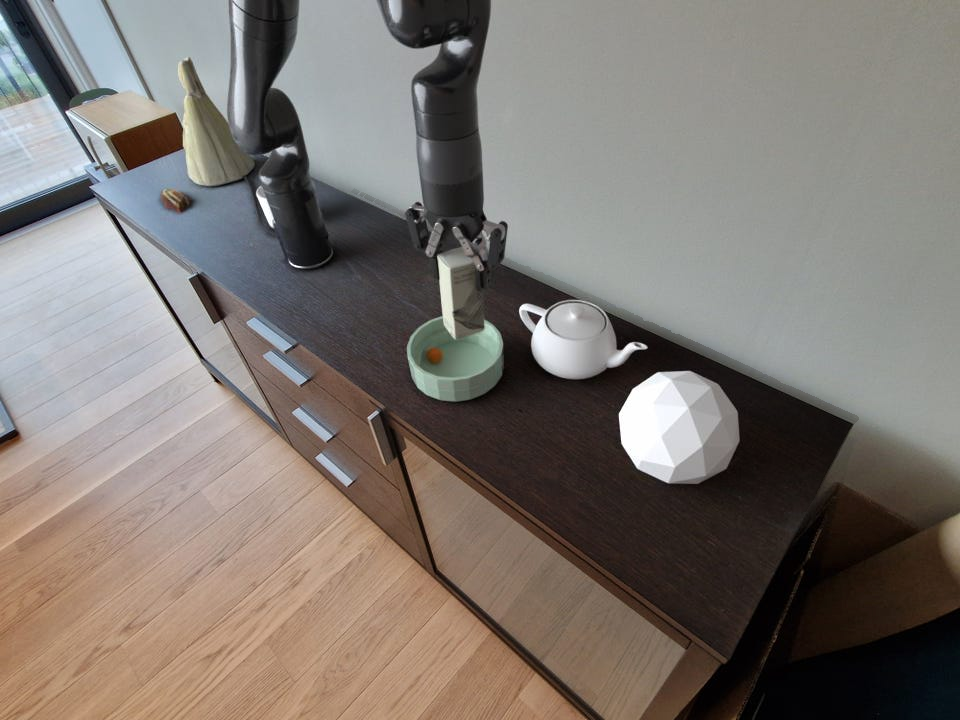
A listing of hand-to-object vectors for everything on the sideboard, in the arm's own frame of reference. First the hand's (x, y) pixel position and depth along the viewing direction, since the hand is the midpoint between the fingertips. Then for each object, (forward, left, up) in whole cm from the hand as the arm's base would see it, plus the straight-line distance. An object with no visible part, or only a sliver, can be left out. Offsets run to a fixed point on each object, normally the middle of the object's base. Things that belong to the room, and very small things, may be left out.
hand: (460, 281), depth 74 cm
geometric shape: (+33, -3, -19) cm, 38 cm away
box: (0, 0, -9) cm, 9 cm away
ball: (-6, 0, -17) cm, 18 cm away
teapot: (+15, +10, -19) cm, 26 cm away
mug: (-62, +28, -19) cm, 71 cm away
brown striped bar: (-98, +22, -19) cm, 102 cm away
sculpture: (-98, +39, -19) cm, 107 cm away
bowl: (-2, 0, -19) cm, 19 cm away
